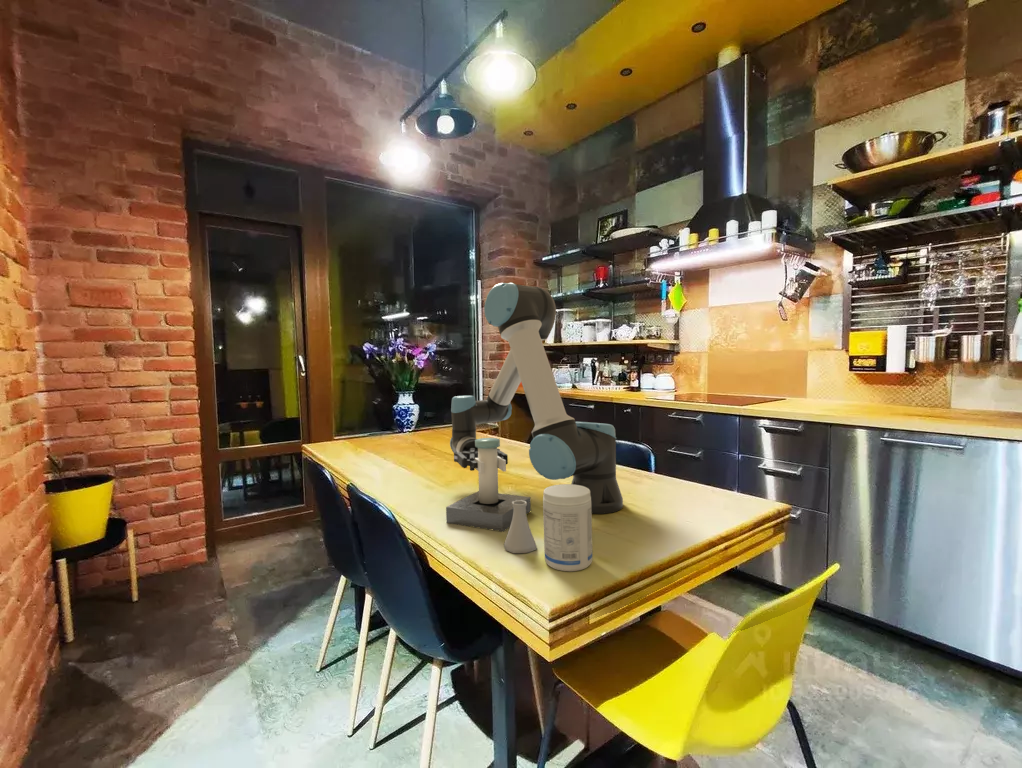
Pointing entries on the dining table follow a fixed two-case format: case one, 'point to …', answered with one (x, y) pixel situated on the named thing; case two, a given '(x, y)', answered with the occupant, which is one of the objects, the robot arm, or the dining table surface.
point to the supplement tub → (567, 527)
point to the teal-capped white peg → (488, 469)
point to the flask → (519, 531)
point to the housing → (484, 511)
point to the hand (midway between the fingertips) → (493, 467)
